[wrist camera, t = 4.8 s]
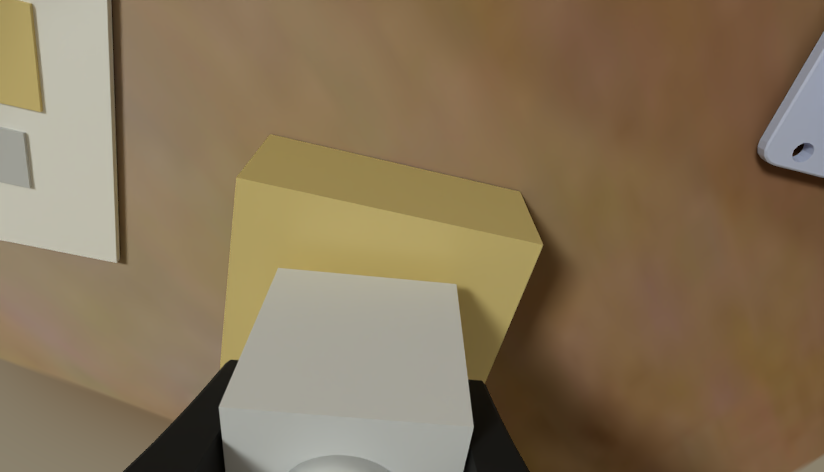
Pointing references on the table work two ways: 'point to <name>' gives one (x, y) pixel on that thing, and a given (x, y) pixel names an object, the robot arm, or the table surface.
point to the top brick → (350, 379)
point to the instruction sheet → (58, 127)
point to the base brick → (377, 236)
